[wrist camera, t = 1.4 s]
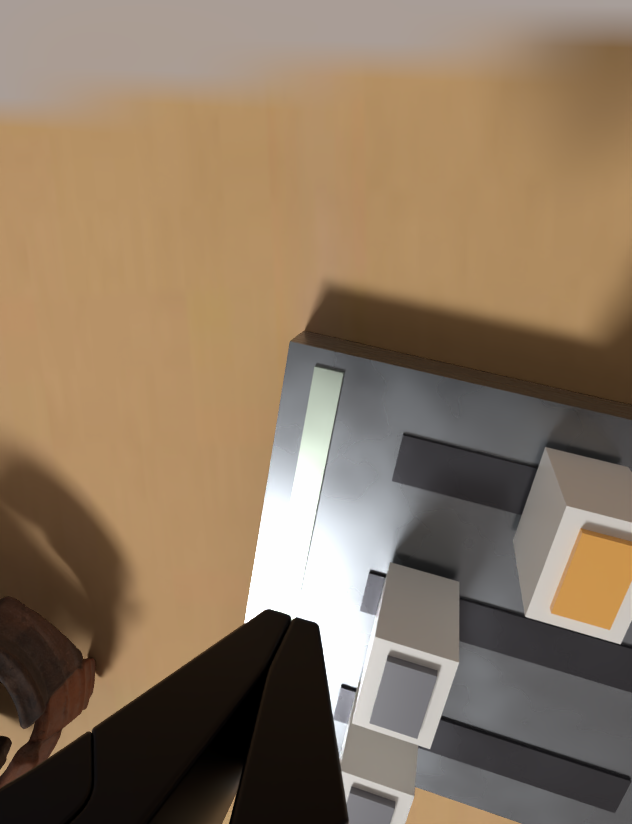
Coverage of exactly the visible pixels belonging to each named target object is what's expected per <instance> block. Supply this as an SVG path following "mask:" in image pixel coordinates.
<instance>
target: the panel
mask: <svg viewBox="0 0 632 824" xmlns="http://www.w3.org/2000/svg"><path fill="white" fill-rule="evenodd" d="M545 447H548V448H552V449H556V450H560V451H564V452H568V453H572V454H576V455H581V456H585V457H589V458H593V459H597V460H601V461H605V462H609V463H613V464H618V465H622V466H626V467H629V469H630V470H631V472H632V405H629V404H624V403H620V402H616V401H611V400H607V399H602V398H598V397H594V396H589V395H585V394H580V393H576V392H572V391H567V390H563V389H558V388H554V387H549V386H545V385H541V384H536V383H532V382H527V381H523V380H519V379H514V378H510V377H505V376H501V375H497V374H492V373H488V372H483V371H479V370H474V369H470V368H466V367H461V366H457V365H452V364H448V363H444V362H439V361H435V360H430V359H426V358H422V357H417V356H413V355H408V354H404V353H399V352H395V351H391V350H386V349H382V348H377V347H373V346H369V345H364V344H360V343H355V342H351V341H346V340H342V339H338V338H333V337H329V336H324V335H320V334H316V333H311V332H307V331H303V332H302V333H300V334H299V335H298V336H296V337H295V338H294V339H292V340H291V341H290V344H289V350H288V356H287V363H286V369H285V375H284V381H283V388H282V394H281V400H280V406H279V412H278V419H277V425H276V431H275V437H274V444H273V450H272V456H271V462H270V468H269V475H268V481H267V487H266V493H265V500H264V506H263V512H262V518H261V524H260V531H259V537H258V543H257V549H256V556H255V562H254V568H253V574H252V580H251V587H250V593H249V599H248V605H247V612H246V618H245V623H246V622H248V621H249V620H250V619H252V618H253V617H255V616H256V615H258V614H259V613H261V612H262V611H263V610H265V609H268V608H269V609H274V610H277V611H280V612H284V613H287V614H289V615H290V616H291V618H292V619H293V618H294V617H300V618H303V619H306V620H309V621H313V622H316V623H317V624H318V625H319V628H320V634H321V640H322V647H323V653H324V660H325V666H326V673H327V679H328V686H329V693H330V699H331V706H332V712H333V719H334V725H335V732H336V738H337V745H338V751H339V757H340V753H341V748H342V744H343V740H344V736H345V732H346V728H347V724H348V721H349V717H350V713H351V709H352V705H353V701H354V698H355V694H356V690H357V686H358V682H359V681H361V678H362V673H363V668H364V664H365V659H366V654H367V650H368V645H369V640H370V636H371V632H372V628H373V625H374V621H375V617H376V613H377V609H378V605H379V602H380V598H381V594H382V590H383V586H384V582H385V578H386V575H387V571H388V567H389V563H390V562H391V563H395V564H398V565H402V566H405V567H409V568H412V569H416V570H419V571H423V572H427V573H430V574H434V575H437V576H441V577H444V578H448V579H451V580H455V581H458V582H459V664H458V667H457V670H456V673H455V676H454V679H453V682H452V685H451V688H450V691H449V694H448V697H447V700H446V703H445V706H444V709H443V712H442V715H441V718H440V721H439V724H438V727H437V730H436V733H435V736H434V739H433V742H432V745H431V748H430V749H428V748H425V747H422V746H419V745H418V755H417V767H416V780H415V787H417V788H420V789H423V790H426V791H429V792H432V793H435V794H437V795H440V796H443V797H446V798H449V799H452V800H455V801H458V802H461V803H464V804H467V805H469V806H472V807H475V808H478V809H481V810H484V811H487V812H490V813H493V814H496V815H499V816H502V817H504V818H507V819H510V820H513V821H516V822H519V823H522V824H632V621H631V623H630V625H629V627H628V629H627V632H626V634H625V636H624V638H623V640H622V643H621V644H618V643H614V642H611V641H607V640H604V639H600V638H597V637H593V636H590V635H586V634H583V633H580V632H576V631H573V630H569V629H566V628H562V627H559V626H555V625H552V624H548V623H545V622H541V621H538V620H535V619H531V618H528V617H525V613H524V607H523V601H522V594H521V588H520V582H519V576H518V569H517V563H516V557H515V551H514V544H513V539H514V536H515V533H516V530H517V527H518V524H519V522H520V519H521V516H522V513H523V510H524V507H525V504H526V501H527V498H528V496H529V493H530V490H531V487H532V484H533V481H534V478H535V475H536V472H537V469H538V467H539V464H540V461H541V458H542V455H543V452H544V449H545Z"/></svg>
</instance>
